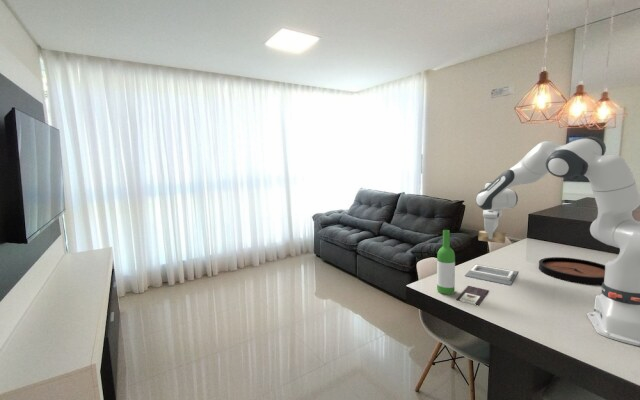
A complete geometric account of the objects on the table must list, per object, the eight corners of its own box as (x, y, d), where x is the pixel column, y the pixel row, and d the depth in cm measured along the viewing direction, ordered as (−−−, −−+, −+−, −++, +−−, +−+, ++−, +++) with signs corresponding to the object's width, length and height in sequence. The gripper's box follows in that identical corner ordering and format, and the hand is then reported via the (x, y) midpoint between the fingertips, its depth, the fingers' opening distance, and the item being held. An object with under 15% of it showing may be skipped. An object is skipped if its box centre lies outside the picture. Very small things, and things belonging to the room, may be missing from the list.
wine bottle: (434, 288, 146) (434, 229, 142) (449, 287, 146) (450, 228, 143) (441, 295, 138) (442, 232, 134) (457, 294, 139) (458, 231, 135)
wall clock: (628, 269, 150) (600, 282, 136) (628, 277, 151) (599, 291, 137) (556, 253, 178) (527, 263, 164) (556, 260, 179) (526, 270, 164)
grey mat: (510, 285, 146) (510, 281, 146) (464, 276, 160) (464, 272, 159) (517, 272, 162) (518, 268, 162) (475, 264, 176) (475, 261, 176)
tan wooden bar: (478, 240, 160) (478, 232, 159) (479, 238, 163) (480, 230, 163) (504, 243, 153) (504, 234, 152) (505, 241, 156) (505, 233, 156)
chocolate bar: (488, 290, 141) (478, 304, 127) (488, 292, 141) (478, 306, 128) (468, 285, 147) (456, 298, 133) (468, 287, 147) (456, 300, 133)
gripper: (488, 208, 166) (487, 232, 168) (482, 214, 150) (481, 241, 152) (502, 209, 162) (500, 234, 164) (496, 215, 146) (495, 242, 148)
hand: (491, 237), depth 158 cm, fingers closed on tan wooden bar, 4 cm apart
